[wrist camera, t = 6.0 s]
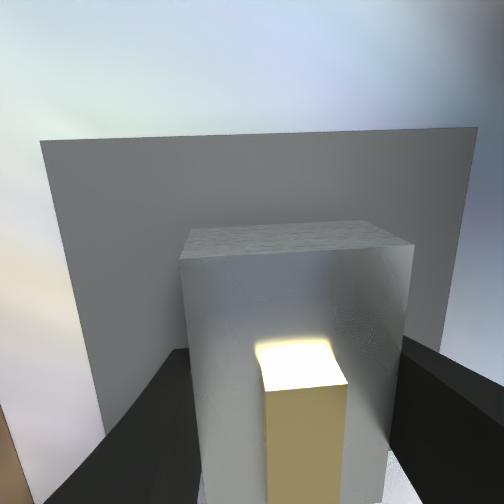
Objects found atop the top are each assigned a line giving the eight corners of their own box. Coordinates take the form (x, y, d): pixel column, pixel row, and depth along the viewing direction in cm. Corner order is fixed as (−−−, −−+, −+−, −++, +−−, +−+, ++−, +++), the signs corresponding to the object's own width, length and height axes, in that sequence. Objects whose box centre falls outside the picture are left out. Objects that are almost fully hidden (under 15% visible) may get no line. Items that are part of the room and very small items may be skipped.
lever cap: (346, 426, 11) (395, 532, 8) (210, 440, 10) (206, 558, 7) (362, 219, 8) (438, 256, 5) (191, 228, 8) (173, 273, 5)
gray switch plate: (415, 436, 13) (422, 446, 13) (119, 468, 12) (115, 481, 12) (465, 128, 10) (477, 126, 9) (49, 141, 9) (39, 140, 8)
